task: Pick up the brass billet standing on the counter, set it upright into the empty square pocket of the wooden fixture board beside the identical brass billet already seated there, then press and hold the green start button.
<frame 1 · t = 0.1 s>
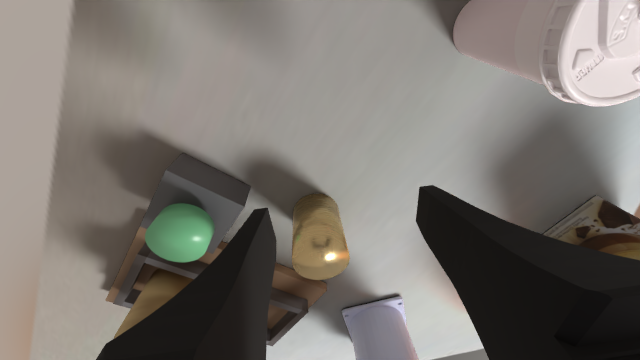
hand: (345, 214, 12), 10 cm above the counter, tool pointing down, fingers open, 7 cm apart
wooden fixture board: (222, 287, 28), on the counter
button box: (204, 195, 22), on the counter
coffee box: (567, 232, 29), on the counter
start button: (182, 233, 18), point 5 cm above the counter, slide at 0.0 cm
billet: (315, 212, 24), on the counter
smoothie: (477, 26, 17), on the counter
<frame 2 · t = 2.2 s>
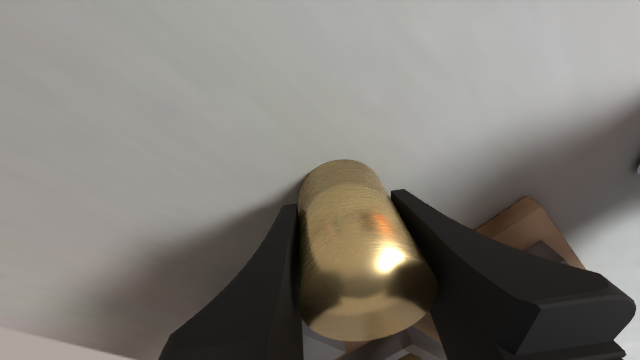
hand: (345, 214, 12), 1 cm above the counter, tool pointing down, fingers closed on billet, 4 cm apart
wooden fixture board: (439, 320, 20), on the counter
button box: (279, 311, 17), on the counter
billet: (340, 197, 13), on the counter, touching gripper
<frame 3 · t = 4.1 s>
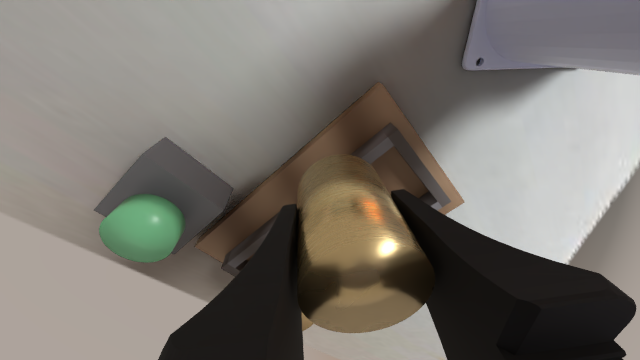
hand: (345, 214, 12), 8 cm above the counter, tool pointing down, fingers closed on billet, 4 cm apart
wooden fixture board: (328, 217, 22), on the counter
button box: (178, 187, 20), on the counter
start button: (145, 228, 15), point 5 cm above the counter, slide at 0.0 cm
billet: (339, 192, 13), point 7 cm above the counter, touching gripper
when the fingers open (4 cm above the counter, at t = 6.2 s): billet drops 1 cm, resting on wooden fixture board.
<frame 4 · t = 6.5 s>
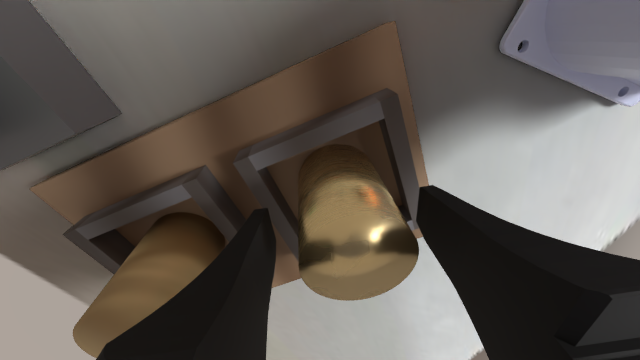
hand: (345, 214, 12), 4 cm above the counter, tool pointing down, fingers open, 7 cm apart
wooden fixture board: (262, 203, 16), on the counter
button box: (18, 79, 11), on the counter
billet: (336, 180, 14), point 1 cm above the counter, touching wooden fixture board
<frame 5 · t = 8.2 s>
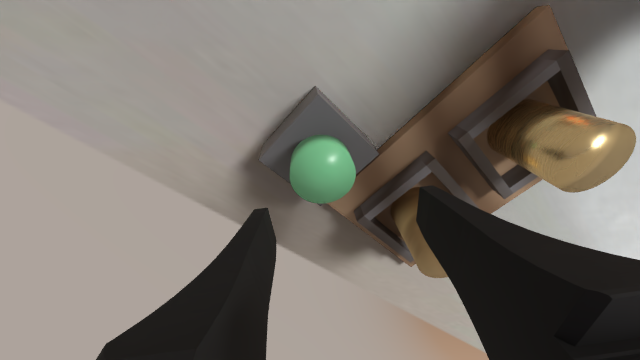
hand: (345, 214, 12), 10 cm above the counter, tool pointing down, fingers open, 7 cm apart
wooden fixture board: (455, 166, 22), on the counter
button box: (316, 141, 20), on the counter
start button: (321, 169, 16), point 5 cm above the counter, slide at 0.0 cm
billet: (515, 127, 20), point 1 cm above the counter, touching wooden fixture board
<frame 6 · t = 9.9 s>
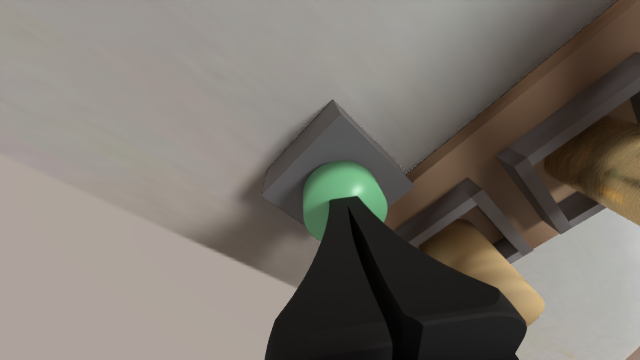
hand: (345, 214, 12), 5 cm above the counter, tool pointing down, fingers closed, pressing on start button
wooden fixture board: (498, 192, 18), on the counter
button box: (332, 166, 16), on the counter
start button: (342, 203, 13), point 4 cm above the counter, slide at 0.7 cm, touching gripper
billet: (579, 149, 16), point 1 cm above the counter, touching wooden fixture board
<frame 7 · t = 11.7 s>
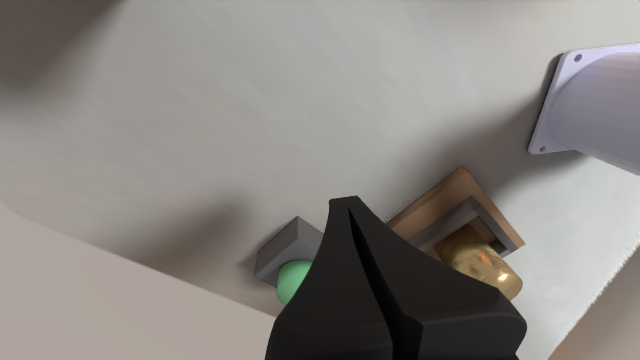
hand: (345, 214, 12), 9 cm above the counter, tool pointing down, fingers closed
wooden fixture board: (411, 260, 28), on the counter
button box: (300, 248, 25), on the counter
start button: (300, 283, 22), point 4 cm above the counter, slide at 0.7 cm
billet: (454, 240, 25), point 1 cm above the counter, touching wooden fixture board
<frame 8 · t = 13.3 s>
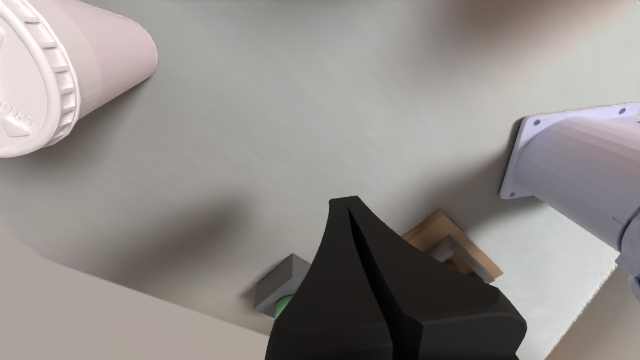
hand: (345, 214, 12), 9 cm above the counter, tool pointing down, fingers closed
wooden fixture board: (398, 288, 30), on the counter
button box: (295, 280, 28), on the counter
start button: (295, 316, 24), point 4 cm above the counter, slide at 0.7 cm
smoothie: (128, 49, 16), on the counter
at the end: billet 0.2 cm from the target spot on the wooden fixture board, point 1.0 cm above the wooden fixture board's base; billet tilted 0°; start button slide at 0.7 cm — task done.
